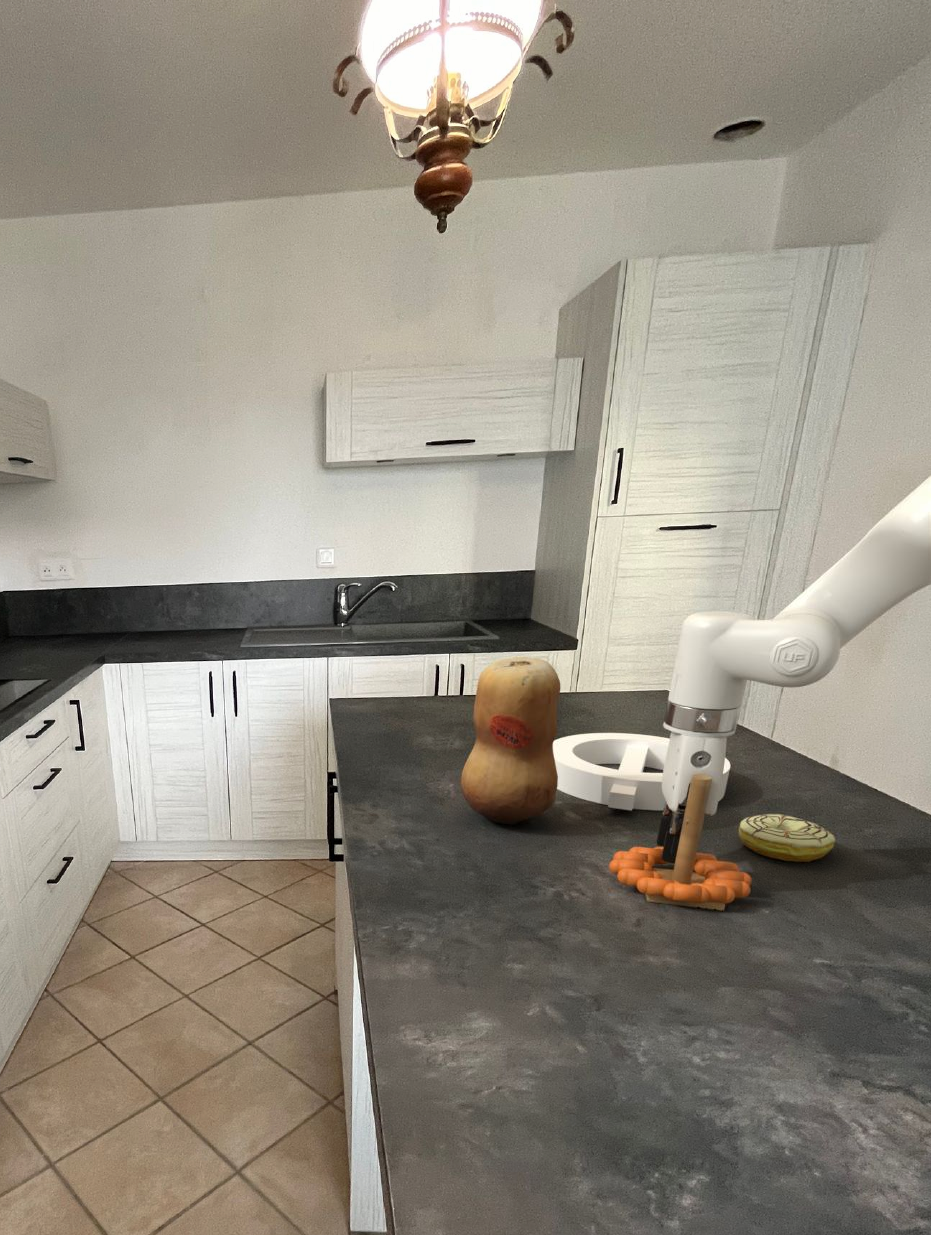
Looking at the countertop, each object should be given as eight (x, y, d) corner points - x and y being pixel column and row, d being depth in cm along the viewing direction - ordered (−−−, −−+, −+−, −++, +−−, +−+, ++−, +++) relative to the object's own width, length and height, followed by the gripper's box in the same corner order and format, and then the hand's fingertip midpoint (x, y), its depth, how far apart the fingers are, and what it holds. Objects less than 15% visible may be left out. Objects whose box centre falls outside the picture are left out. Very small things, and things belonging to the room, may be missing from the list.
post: (709, 880, 92) (733, 768, 86) (724, 910, 85) (751, 791, 79) (638, 872, 94) (658, 763, 89) (647, 901, 87) (668, 785, 82)
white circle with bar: (617, 819, 111) (622, 790, 109) (512, 766, 136) (514, 741, 135) (767, 798, 117) (773, 770, 115) (639, 750, 142) (643, 727, 140)
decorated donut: (826, 842, 101) (833, 817, 99) (832, 872, 92) (840, 845, 91) (737, 828, 106) (742, 804, 105) (735, 855, 98) (741, 830, 97)
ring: (736, 866, 93) (740, 852, 92) (763, 913, 82) (767, 898, 81) (603, 852, 98) (606, 839, 97) (612, 895, 87) (615, 880, 86)
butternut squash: (449, 829, 110) (461, 665, 101) (467, 800, 121) (479, 649, 112) (547, 843, 104) (569, 670, 95) (556, 811, 115) (576, 653, 106)
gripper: (754, 738, 79) (719, 887, 86) (722, 703, 93) (694, 832, 100) (675, 733, 82) (647, 878, 88) (656, 700, 96) (633, 826, 103)
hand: (672, 852), depth 94 cm, fingers open, 4 cm apart
